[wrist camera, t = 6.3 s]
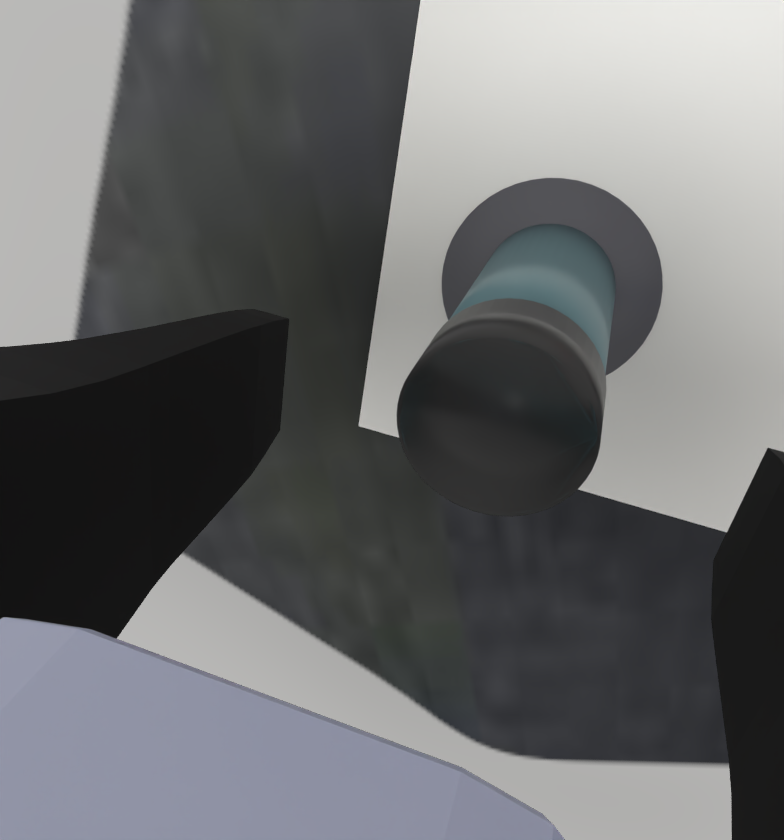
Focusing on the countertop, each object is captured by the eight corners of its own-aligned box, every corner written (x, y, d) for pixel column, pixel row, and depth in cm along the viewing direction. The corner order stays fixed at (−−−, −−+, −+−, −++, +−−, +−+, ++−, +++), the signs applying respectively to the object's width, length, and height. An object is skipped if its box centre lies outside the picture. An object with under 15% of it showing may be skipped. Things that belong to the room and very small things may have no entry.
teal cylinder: (636, 239, 16) (628, 365, 10) (595, 366, 18) (568, 540, 12) (497, 207, 17) (414, 310, 11) (469, 333, 18) (383, 484, 12)
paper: (1406, 49, 12) (1427, 50, 12) (989, 601, 18) (995, 611, 18) (438, -98, 15) (434, -100, 14) (361, 421, 21) (357, 427, 20)
